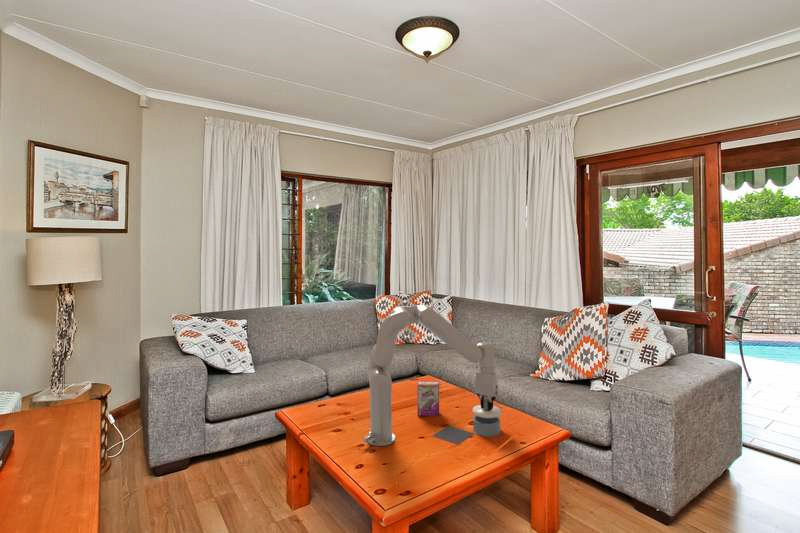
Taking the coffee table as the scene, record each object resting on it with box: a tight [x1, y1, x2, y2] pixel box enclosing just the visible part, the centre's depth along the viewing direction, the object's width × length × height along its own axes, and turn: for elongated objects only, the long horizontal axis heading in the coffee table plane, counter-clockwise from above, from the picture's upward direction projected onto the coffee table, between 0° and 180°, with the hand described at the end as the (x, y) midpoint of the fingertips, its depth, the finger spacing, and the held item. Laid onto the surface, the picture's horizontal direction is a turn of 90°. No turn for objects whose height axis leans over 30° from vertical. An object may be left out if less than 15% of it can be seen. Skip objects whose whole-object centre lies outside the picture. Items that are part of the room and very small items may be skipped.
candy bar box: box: [417, 381, 440, 417], centre depth 212 cm, size 11×5×16 cm, turn 84°
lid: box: [472, 397, 502, 418], centre depth 191 cm, size 13×13×6 cm
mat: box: [431, 425, 476, 446], centre depth 188 cm, size 14×14×1 cm
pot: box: [472, 415, 501, 438], centre depth 191 cm, size 12×12×6 cm
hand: (486, 408), depth 191 cm, fingers closed on lid, 3 cm apart
